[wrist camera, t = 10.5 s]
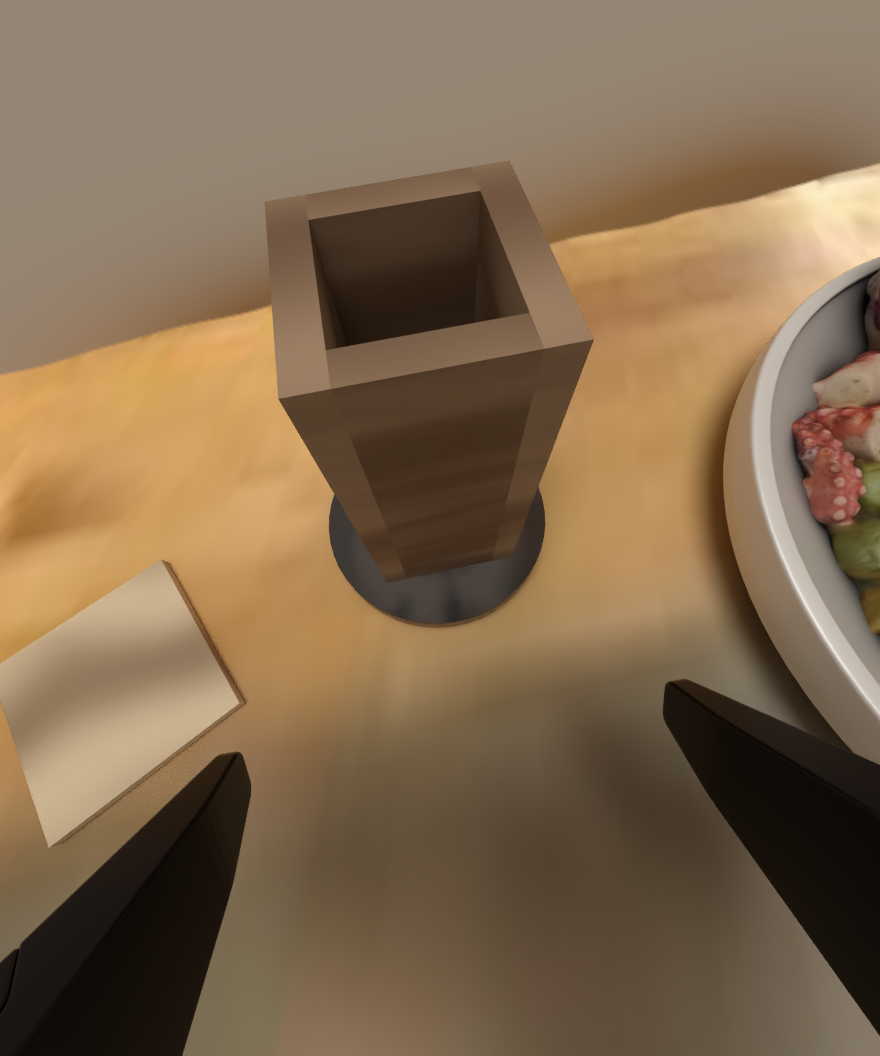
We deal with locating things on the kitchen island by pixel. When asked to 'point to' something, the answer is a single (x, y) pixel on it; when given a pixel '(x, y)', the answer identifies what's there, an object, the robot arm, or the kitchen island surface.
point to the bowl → (816, 499)
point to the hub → (437, 576)
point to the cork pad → (112, 698)
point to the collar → (425, 358)
